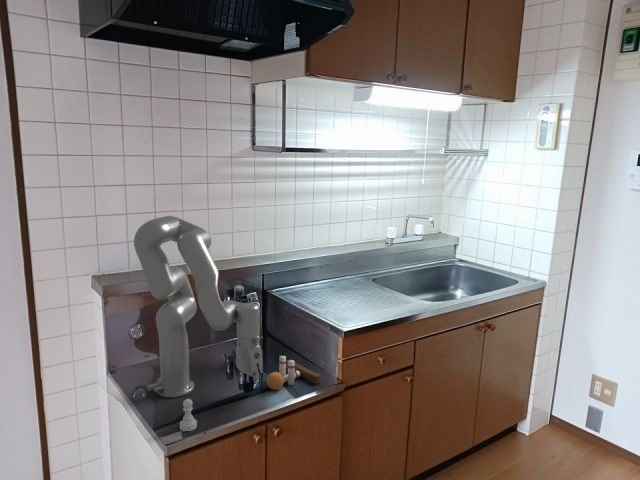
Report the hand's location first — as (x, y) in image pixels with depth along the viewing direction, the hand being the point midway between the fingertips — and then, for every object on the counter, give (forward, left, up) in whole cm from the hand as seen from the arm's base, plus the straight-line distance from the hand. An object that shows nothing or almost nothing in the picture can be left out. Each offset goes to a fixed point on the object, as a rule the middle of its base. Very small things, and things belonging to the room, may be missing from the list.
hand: (248, 391), depth 167 cm
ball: (+10, -2, +2) cm, 10 cm away
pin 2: (+16, -2, -2) cm, 17 cm away
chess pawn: (-25, -5, -2) cm, 26 cm away
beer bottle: (+17, +22, -2) cm, 28 cm away
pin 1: (+16, +3, -2) cm, 17 cm away
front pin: (+14, 0, 0) cm, 14 cm away
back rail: (+24, 0, -2) cm, 24 cm away
